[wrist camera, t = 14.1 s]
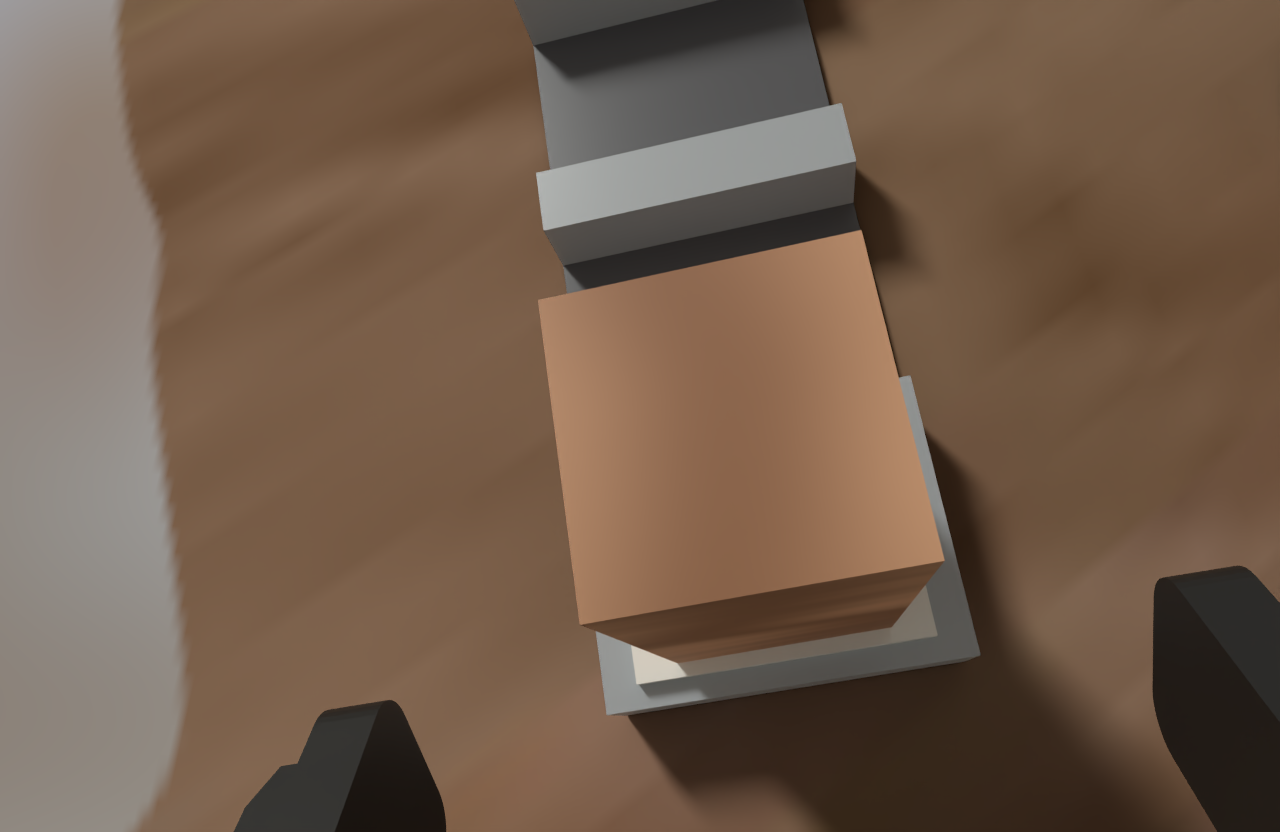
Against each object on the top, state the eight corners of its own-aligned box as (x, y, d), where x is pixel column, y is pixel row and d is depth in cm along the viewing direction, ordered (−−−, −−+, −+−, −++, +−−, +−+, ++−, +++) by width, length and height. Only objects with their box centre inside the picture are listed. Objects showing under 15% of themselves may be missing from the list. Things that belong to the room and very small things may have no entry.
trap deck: (758, -175, 27) (754, -253, 25) (965, 661, 20) (983, 654, 18) (513, -109, 28) (488, -180, 25) (626, 715, 20) (603, 715, 18)
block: (844, 422, 19) (861, 230, 12) (891, 627, 18) (944, 561, 10) (645, 460, 20) (538, 299, 12) (677, 663, 18) (579, 624, 11)
